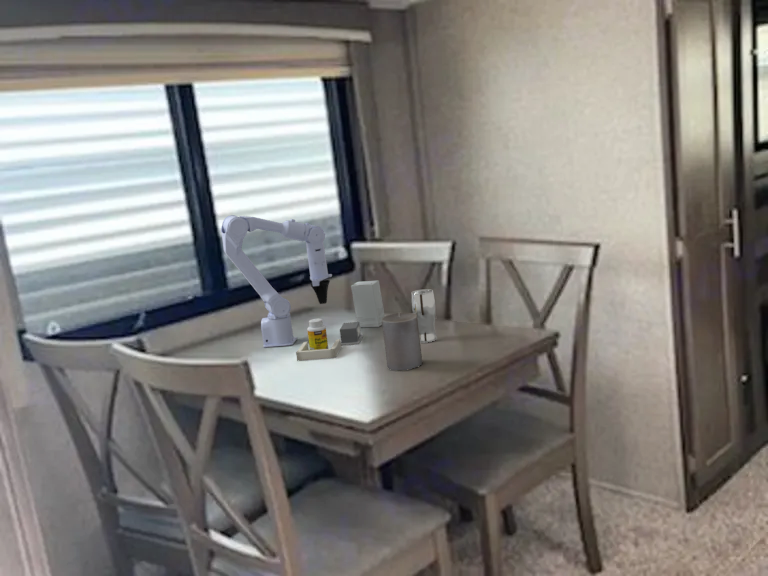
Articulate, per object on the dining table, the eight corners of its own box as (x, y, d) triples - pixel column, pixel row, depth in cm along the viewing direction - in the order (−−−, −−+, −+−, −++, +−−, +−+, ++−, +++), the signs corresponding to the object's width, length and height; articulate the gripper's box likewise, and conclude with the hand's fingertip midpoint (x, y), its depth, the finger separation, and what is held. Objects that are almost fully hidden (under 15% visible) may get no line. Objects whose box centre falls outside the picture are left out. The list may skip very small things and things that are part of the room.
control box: (339, 346, 237) (337, 330, 236) (344, 337, 247) (342, 322, 246) (358, 344, 237) (357, 328, 236) (362, 336, 246) (361, 320, 245)
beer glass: (413, 343, 230) (408, 294, 228) (418, 337, 237) (413, 289, 234) (436, 342, 229) (431, 293, 226) (440, 336, 235) (435, 288, 232)
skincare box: (385, 323, 260) (380, 279, 257) (378, 327, 254) (373, 283, 251) (363, 323, 263) (358, 280, 260) (355, 327, 258) (350, 284, 255)
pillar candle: (394, 359, 216) (388, 308, 213) (427, 360, 213) (421, 307, 210) (382, 371, 208) (375, 317, 205) (416, 371, 204) (409, 316, 201)
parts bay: (297, 360, 226) (296, 352, 226) (304, 349, 237) (303, 341, 237) (335, 357, 225) (334, 349, 225) (341, 346, 236) (340, 339, 236)
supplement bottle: (315, 357, 228) (311, 323, 226) (307, 353, 233) (302, 320, 231) (332, 352, 231) (327, 319, 229) (323, 349, 236) (319, 316, 234)
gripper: (325, 265, 241) (331, 307, 244) (333, 257, 255) (338, 297, 258) (303, 267, 242) (309, 309, 245) (312, 259, 256) (318, 299, 259)
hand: (323, 303), depth 251 cm, fingers closed
